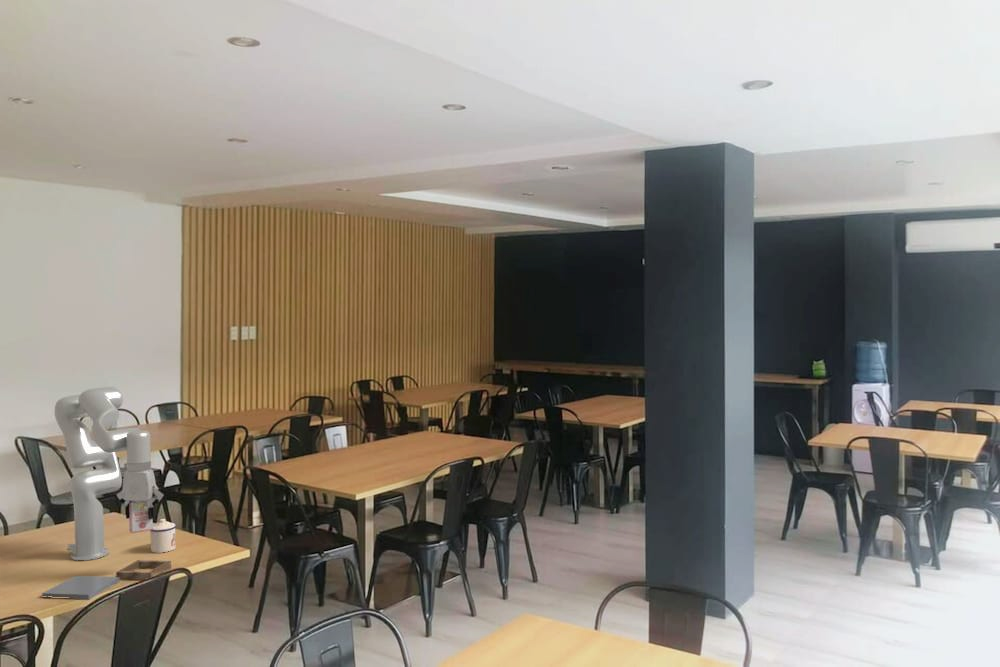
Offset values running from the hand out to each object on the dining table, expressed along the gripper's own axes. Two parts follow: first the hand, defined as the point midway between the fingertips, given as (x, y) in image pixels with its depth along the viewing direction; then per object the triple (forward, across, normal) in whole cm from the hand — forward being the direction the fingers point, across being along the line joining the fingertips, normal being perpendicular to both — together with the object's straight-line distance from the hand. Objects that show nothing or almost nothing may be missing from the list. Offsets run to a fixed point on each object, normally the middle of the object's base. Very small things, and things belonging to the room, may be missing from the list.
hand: (140, 517), depth 270 cm
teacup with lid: (+20, -8, +27) cm, 35 cm away
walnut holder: (+20, 0, 0) cm, 20 cm away
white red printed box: (+5, 0, 0) cm, 5 cm away
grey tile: (+20, -12, -16) cm, 28 cm away
